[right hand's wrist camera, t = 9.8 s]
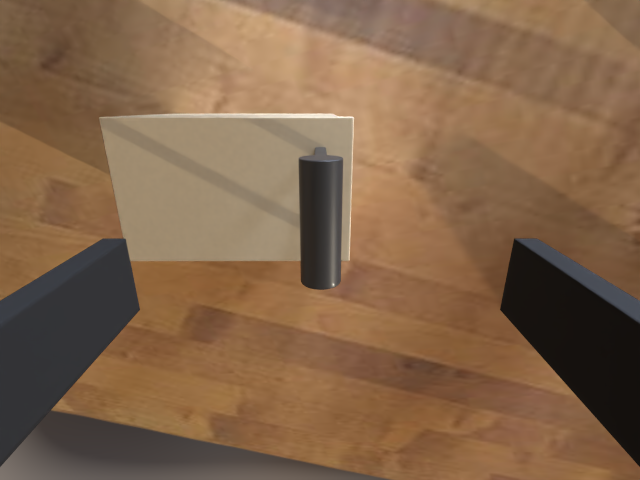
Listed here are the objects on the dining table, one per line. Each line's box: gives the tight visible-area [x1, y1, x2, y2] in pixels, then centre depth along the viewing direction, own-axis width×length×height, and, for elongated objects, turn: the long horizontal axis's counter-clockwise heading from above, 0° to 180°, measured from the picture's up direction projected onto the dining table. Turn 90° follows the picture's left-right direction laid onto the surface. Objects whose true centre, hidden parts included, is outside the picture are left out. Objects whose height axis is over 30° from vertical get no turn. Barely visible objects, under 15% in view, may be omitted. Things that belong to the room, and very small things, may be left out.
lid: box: [99, 117, 354, 290], centre depth 21 cm, size 16×10×8 cm, turn 90°
